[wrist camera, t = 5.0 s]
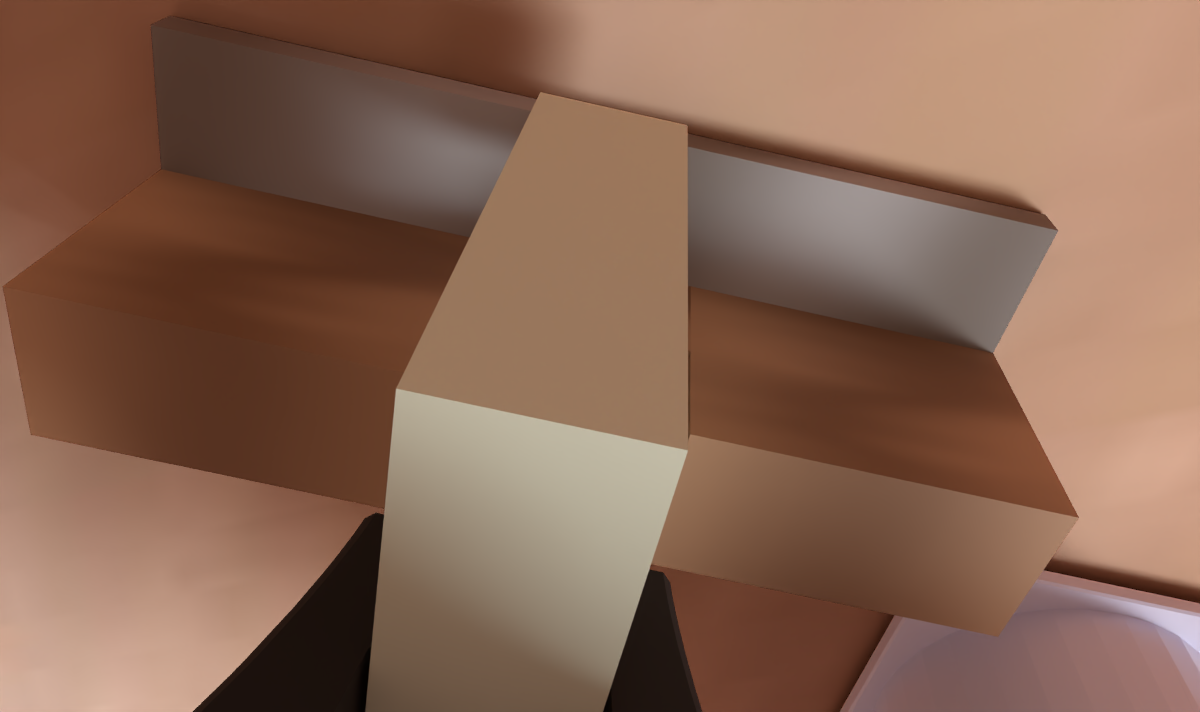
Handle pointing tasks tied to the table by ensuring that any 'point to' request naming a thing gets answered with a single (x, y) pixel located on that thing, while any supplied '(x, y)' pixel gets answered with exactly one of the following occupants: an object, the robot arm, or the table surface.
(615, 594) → the cream h-shaped block
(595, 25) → the table surface
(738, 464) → the slotted base
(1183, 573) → the table surface
